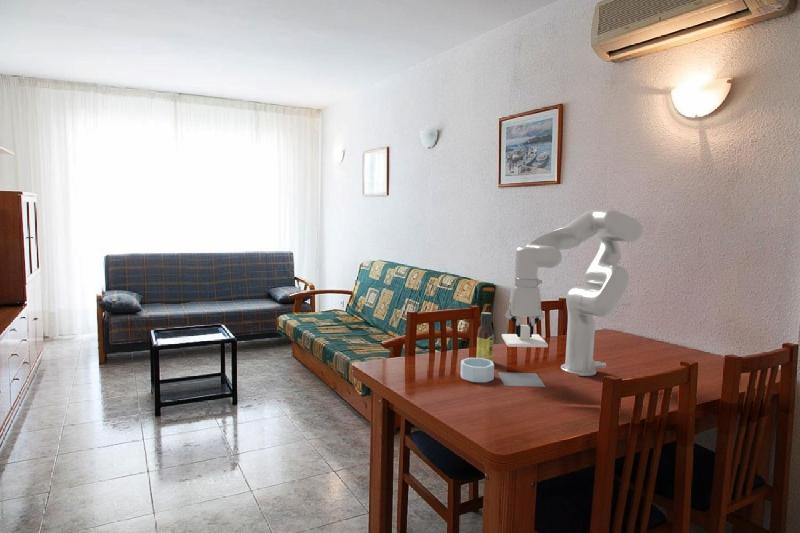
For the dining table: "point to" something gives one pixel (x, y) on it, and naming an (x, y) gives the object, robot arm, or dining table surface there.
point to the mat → (521, 379)
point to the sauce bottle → (485, 337)
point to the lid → (524, 339)
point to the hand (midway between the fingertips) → (524, 335)
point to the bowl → (477, 370)
